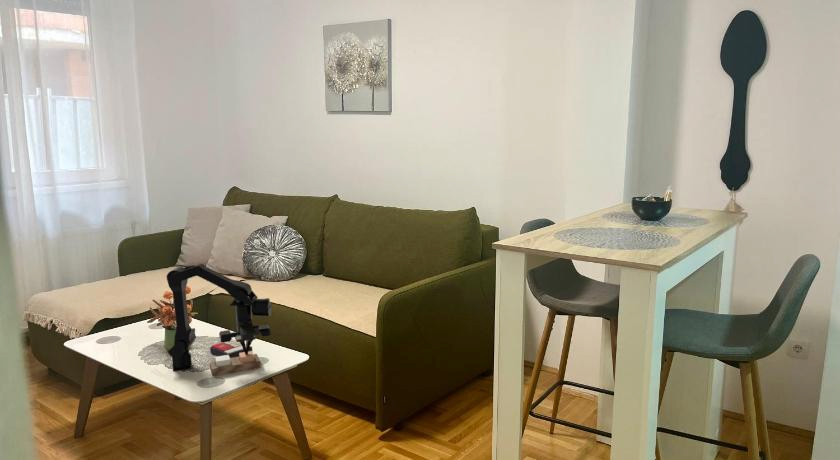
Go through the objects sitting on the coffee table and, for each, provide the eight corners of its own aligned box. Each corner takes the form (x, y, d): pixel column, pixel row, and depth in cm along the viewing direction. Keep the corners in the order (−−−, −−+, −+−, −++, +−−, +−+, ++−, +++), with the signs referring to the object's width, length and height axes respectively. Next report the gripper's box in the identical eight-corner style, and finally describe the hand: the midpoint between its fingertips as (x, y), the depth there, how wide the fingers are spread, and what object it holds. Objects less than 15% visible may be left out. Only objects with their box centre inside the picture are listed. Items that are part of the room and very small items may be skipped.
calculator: (233, 338, 264) (252, 345, 254) (234, 347, 265) (253, 355, 255) (209, 345, 256) (228, 352, 246) (210, 355, 257) (229, 363, 247)
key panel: (212, 376, 234) (211, 369, 233) (210, 368, 241) (209, 361, 240) (260, 368, 241) (260, 360, 241) (257, 360, 248) (256, 353, 248)
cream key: (217, 371, 236) (216, 361, 235) (215, 366, 240) (215, 356, 240) (230, 369, 238) (230, 359, 237) (229, 364, 242) (228, 354, 242)
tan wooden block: (241, 367, 239) (240, 357, 239) (239, 362, 244) (238, 353, 243) (254, 365, 242) (254, 355, 241) (252, 360, 246) (251, 350, 245)
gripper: (221, 325, 228) (224, 365, 231) (272, 318, 236) (274, 357, 239) (217, 317, 238) (220, 355, 241) (266, 310, 246) (268, 347, 249)
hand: (246, 354), depth 242 cm, fingers closed, pressing on tan wooden block
